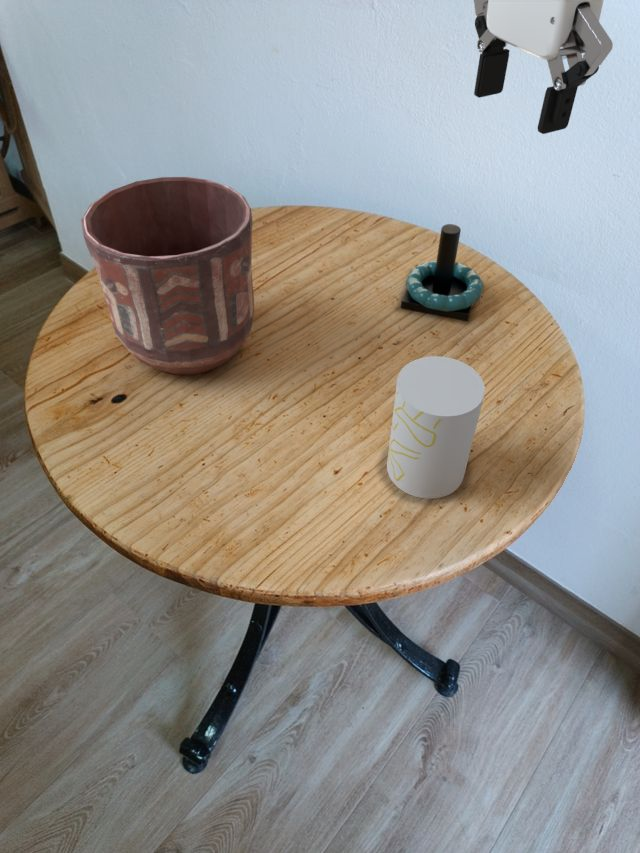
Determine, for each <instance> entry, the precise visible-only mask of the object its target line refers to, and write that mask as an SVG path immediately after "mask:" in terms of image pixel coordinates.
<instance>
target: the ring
mask: <svg viewBox="0 0 640 853" xmlns="http://www.w3.org/2000/svg"><path fill="white" fill-rule="evenodd" d="M436 262H437V260H430V261H429V260H428V261H424V262H422V263H420V264H418V265H419V266H417V267H415V266H414V268H412V269H411V270H410V271H409V274H408V276H407V278H406V281H405V289H407V290H408V291H409V293H410V295H411V297H412V299H413V300H415V301H417V302H418V303H420V304H422V305H423V306H425V307H427V308H429V309H435V310H440V311H446V312H448V311H456V310H463V309H466V308H468V307H470V306H471V305H472V306H473V305H474V304H476V303H477V302H479V301H480V300H481V298H482V293H483V289H484V282H483V280H482V278H481V276H479V275H478V273H477V271H476V270H474V269H473V268H471V267H469V266H467V265H466V264H463V263H461V262H457V261H455V266H454V272H453V277H455V278H457V279H459V280H461V281H462V282H464V283H465V284H466V286H467V290H466V291H464V292H463V293H461V294H457V295H450V296H446V295H440V294H435V293H432V292H431V291H429V290H427V289H425V288H424V287H423V285H422V281H423V280H424V279H426V278H427V277H429V276H434V275H435V268H436Z"/></svg>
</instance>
